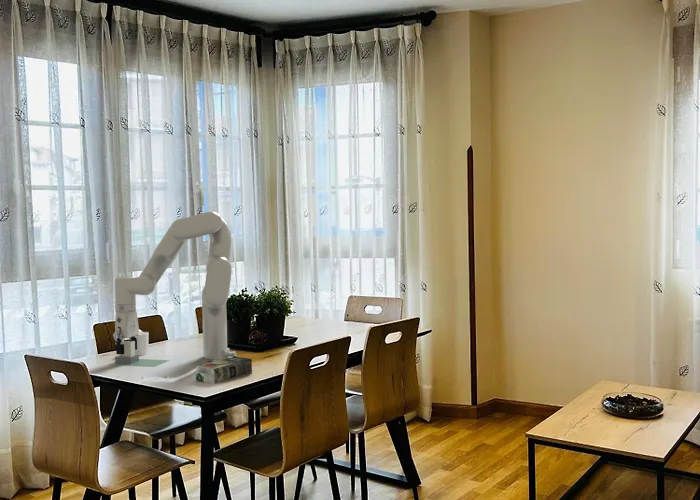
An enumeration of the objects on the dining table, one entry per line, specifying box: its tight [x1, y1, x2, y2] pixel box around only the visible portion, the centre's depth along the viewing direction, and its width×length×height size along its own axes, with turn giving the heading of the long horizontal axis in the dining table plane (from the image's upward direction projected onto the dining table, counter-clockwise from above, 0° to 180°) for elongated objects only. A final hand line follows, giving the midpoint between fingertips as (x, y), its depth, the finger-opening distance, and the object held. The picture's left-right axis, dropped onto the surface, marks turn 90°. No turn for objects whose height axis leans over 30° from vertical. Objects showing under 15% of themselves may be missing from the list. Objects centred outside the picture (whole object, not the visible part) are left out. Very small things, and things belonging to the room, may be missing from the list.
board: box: [107, 354, 170, 368], centre depth 273 cm, size 20×12×4 cm, turn 77°
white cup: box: [128, 331, 149, 356], centre depth 290 cm, size 8×8×10 cm
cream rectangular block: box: [121, 340, 135, 357], centre depth 274 cm, size 4×3×8 cm
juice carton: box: [195, 355, 253, 385], centre depth 253 cm, size 20×10×6 cm, turn 144°
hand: (126, 351), depth 274 cm, fingers open, 9 cm apart
